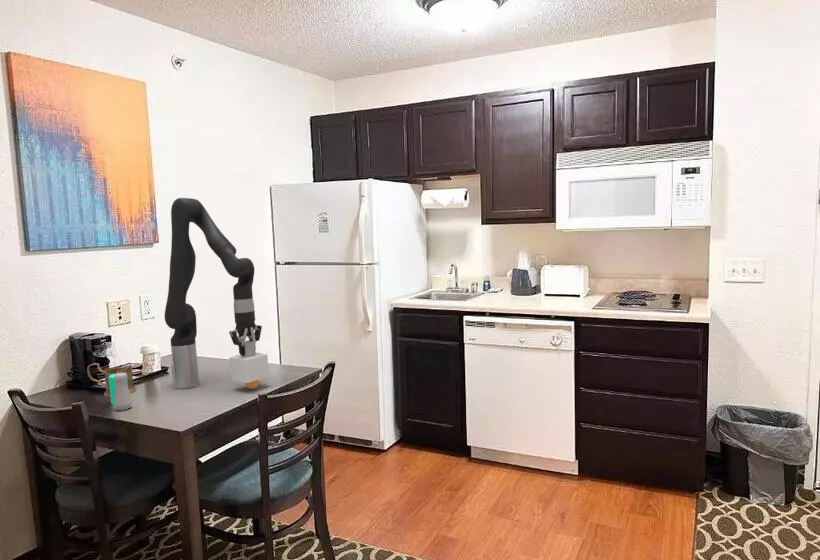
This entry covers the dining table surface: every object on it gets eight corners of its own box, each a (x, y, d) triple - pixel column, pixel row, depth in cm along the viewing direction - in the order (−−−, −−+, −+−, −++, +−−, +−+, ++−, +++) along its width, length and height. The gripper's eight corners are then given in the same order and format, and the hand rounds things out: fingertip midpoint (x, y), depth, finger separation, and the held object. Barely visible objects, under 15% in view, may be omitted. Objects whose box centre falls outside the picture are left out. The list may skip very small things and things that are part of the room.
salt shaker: (131, 410, 201) (127, 374, 200) (113, 412, 200) (109, 376, 198) (134, 405, 207) (130, 370, 206) (116, 407, 205) (113, 372, 204)
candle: (107, 404, 209) (104, 373, 208) (121, 399, 215) (117, 368, 213) (119, 406, 207) (116, 374, 206) (133, 400, 212) (129, 369, 211)
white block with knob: (247, 383, 214) (244, 346, 212) (231, 379, 220) (227, 343, 218) (269, 376, 222) (266, 340, 220) (252, 373, 228) (249, 338, 226)
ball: (258, 390, 222) (247, 393, 218) (252, 380, 224) (241, 383, 221) (262, 381, 220) (251, 384, 216) (256, 372, 222) (245, 375, 218)
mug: (98, 389, 230) (95, 360, 229) (141, 387, 230) (138, 358, 229) (82, 398, 219) (78, 367, 217) (128, 396, 219) (124, 365, 217)
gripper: (234, 313, 210) (238, 359, 212) (265, 307, 221) (268, 351, 223) (222, 312, 215) (226, 357, 216) (253, 306, 226) (256, 349, 228)
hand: (247, 353), depth 220 cm, fingers closed on white block with knob, 4 cm apart
